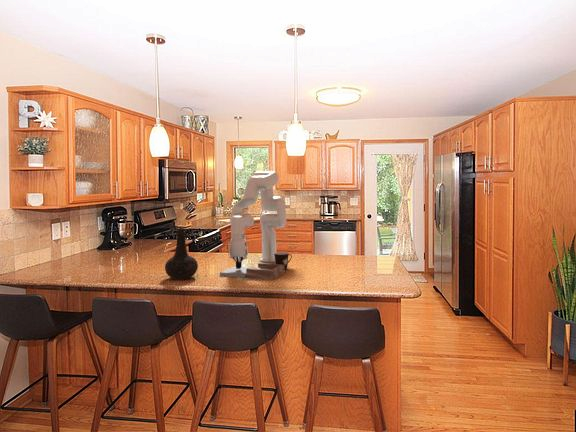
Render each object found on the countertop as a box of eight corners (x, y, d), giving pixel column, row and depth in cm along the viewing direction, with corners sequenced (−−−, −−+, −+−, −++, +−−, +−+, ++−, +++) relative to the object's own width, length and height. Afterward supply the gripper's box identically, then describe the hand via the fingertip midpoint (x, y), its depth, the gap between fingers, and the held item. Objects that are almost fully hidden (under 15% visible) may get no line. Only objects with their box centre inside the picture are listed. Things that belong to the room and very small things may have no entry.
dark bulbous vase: (162, 282, 244) (160, 230, 242) (168, 274, 262) (166, 226, 259) (196, 281, 246) (194, 230, 243) (200, 273, 263) (198, 226, 261)
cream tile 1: (252, 268, 263) (254, 265, 262) (261, 273, 261) (262, 270, 261) (247, 271, 257) (249, 267, 257) (256, 276, 256) (258, 272, 255)
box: (259, 271, 268) (259, 262, 267) (284, 273, 262) (284, 264, 262) (246, 277, 252) (246, 268, 252) (272, 279, 246) (272, 270, 246)
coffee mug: (276, 271, 266) (276, 255, 265) (273, 268, 274) (272, 252, 273) (295, 270, 269) (295, 253, 268) (291, 267, 277) (291, 251, 276)
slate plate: (234, 269, 274) (234, 266, 274) (258, 271, 268) (258, 267, 268) (220, 275, 258) (219, 272, 257) (245, 277, 252) (245, 274, 252)
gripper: (252, 236, 262) (253, 267, 264) (229, 235, 267) (230, 266, 269) (246, 238, 255) (247, 270, 257) (223, 237, 260) (224, 269, 262)
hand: (238, 268), depth 263 cm, fingers closed
